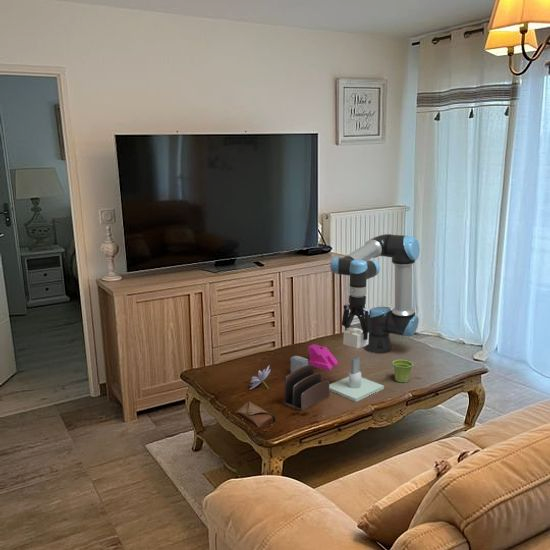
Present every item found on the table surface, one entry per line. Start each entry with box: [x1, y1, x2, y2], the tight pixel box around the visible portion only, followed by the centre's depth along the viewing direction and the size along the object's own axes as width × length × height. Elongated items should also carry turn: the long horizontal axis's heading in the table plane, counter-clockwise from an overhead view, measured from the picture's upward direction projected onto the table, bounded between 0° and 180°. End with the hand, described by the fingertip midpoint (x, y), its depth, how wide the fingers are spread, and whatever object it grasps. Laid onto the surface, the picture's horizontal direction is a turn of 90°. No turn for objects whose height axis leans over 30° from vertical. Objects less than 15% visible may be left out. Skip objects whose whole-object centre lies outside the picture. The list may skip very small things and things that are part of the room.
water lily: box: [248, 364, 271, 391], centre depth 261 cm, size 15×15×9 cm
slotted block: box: [343, 327, 369, 349], centre depth 255 cm, size 8×8×6 cm
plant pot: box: [392, 359, 414, 383], centre depth 268 cm, size 9×9×9 cm
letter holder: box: [283, 364, 330, 412], centre depth 247 cm, size 10×20×14 cm, turn 138°
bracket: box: [307, 343, 339, 371], centre depth 287 cm, size 12×10×10 cm
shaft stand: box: [329, 356, 385, 403], centre depth 258 cm, size 20×18×15 cm
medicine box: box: [290, 355, 309, 373], centre depth 275 cm, size 8×4×9 cm, turn 47°
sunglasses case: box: [234, 400, 276, 428], centre depth 234 cm, size 18×7×7 cm
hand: (355, 343), depth 255 cm, fingers closed on slotted block, 8 cm apart
